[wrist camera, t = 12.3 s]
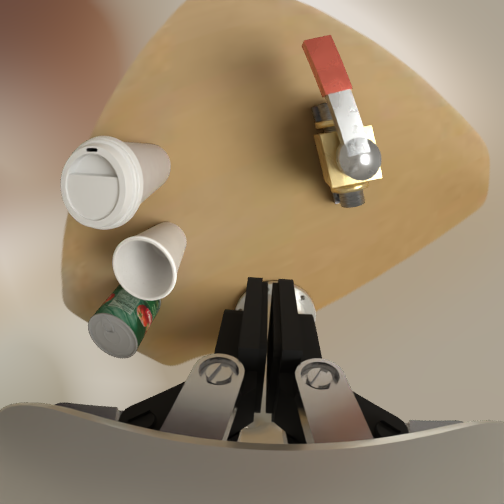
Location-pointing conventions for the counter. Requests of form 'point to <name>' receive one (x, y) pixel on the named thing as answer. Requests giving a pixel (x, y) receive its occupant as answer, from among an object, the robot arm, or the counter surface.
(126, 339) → the canned tomato
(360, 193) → the valve body
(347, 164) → the lever
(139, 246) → the dixie cup
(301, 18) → the counter surface
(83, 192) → the coffee cup
